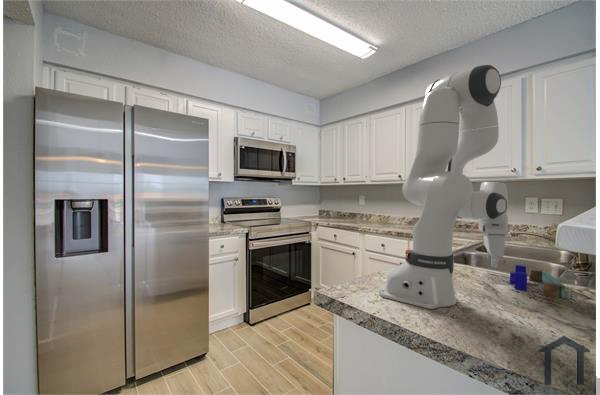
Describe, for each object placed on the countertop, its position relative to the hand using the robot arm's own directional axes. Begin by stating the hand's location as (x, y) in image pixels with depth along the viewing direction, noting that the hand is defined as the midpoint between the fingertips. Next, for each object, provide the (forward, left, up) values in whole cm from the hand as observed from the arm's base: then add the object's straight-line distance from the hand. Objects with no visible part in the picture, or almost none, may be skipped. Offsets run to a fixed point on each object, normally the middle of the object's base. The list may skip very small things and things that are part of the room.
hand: (492, 263), depth 104 cm
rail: (+15, -1, -7) cm, 17 cm away
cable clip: (+8, -1, -7) cm, 10 cm away
